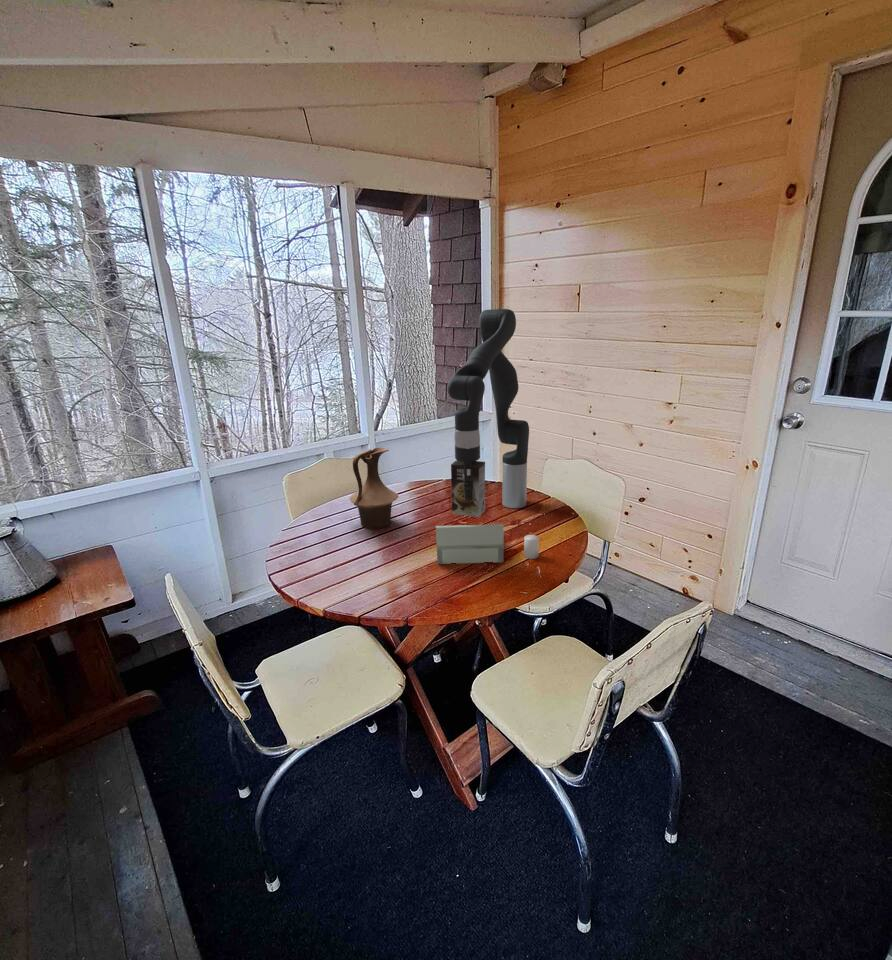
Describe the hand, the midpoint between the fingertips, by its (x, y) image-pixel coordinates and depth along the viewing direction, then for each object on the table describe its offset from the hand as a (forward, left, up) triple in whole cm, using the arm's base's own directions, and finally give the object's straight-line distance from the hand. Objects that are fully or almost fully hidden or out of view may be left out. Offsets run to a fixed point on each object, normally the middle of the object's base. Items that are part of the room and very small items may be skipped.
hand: (468, 494), depth 158 cm
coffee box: (0, 0, -6) cm, 6 cm away
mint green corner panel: (+2, 0, -19) cm, 19 cm away
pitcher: (-23, -33, -19) cm, 44 cm away
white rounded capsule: (+5, +19, -19) cm, 27 cm away
